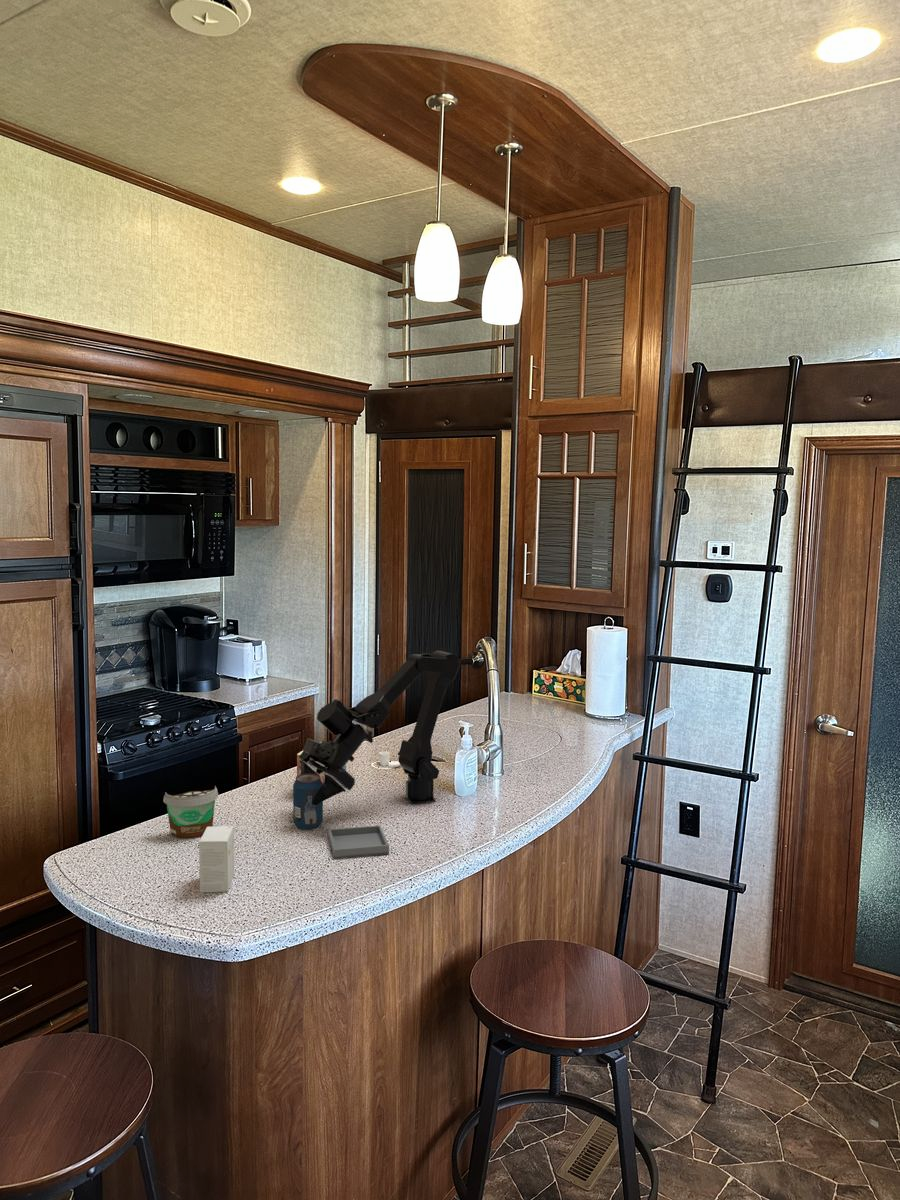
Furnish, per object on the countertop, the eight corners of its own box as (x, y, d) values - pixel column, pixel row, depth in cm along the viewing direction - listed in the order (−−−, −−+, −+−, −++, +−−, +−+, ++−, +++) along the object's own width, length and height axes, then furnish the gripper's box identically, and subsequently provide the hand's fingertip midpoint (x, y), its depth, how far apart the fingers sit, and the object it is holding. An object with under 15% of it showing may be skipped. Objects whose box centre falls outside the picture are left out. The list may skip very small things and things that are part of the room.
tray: (380, 833, 194) (380, 825, 194) (389, 854, 182) (389, 845, 182) (328, 837, 191) (328, 829, 191) (334, 858, 180) (334, 850, 179)
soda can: (309, 818, 203) (309, 770, 201) (329, 825, 198) (329, 776, 197) (287, 826, 197) (286, 777, 196) (306, 834, 193) (306, 784, 192)
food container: (168, 844, 186) (167, 801, 185) (163, 834, 192) (162, 792, 190) (224, 835, 192) (223, 793, 191) (218, 826, 197) (217, 785, 196)
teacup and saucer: (404, 768, 245) (404, 754, 244) (380, 772, 240) (381, 759, 240) (389, 760, 252) (389, 747, 251) (366, 765, 247) (366, 751, 247)
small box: (207, 875, 171) (206, 825, 170) (235, 874, 171) (234, 825, 170) (199, 893, 163) (198, 841, 162) (228, 892, 163) (227, 840, 162)
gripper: (306, 718, 205) (264, 769, 200) (343, 734, 191) (299, 790, 185) (334, 744, 211) (294, 794, 205) (372, 762, 196) (331, 817, 191)
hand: (303, 798), depth 197 cm, fingers open, 9 cm apart
